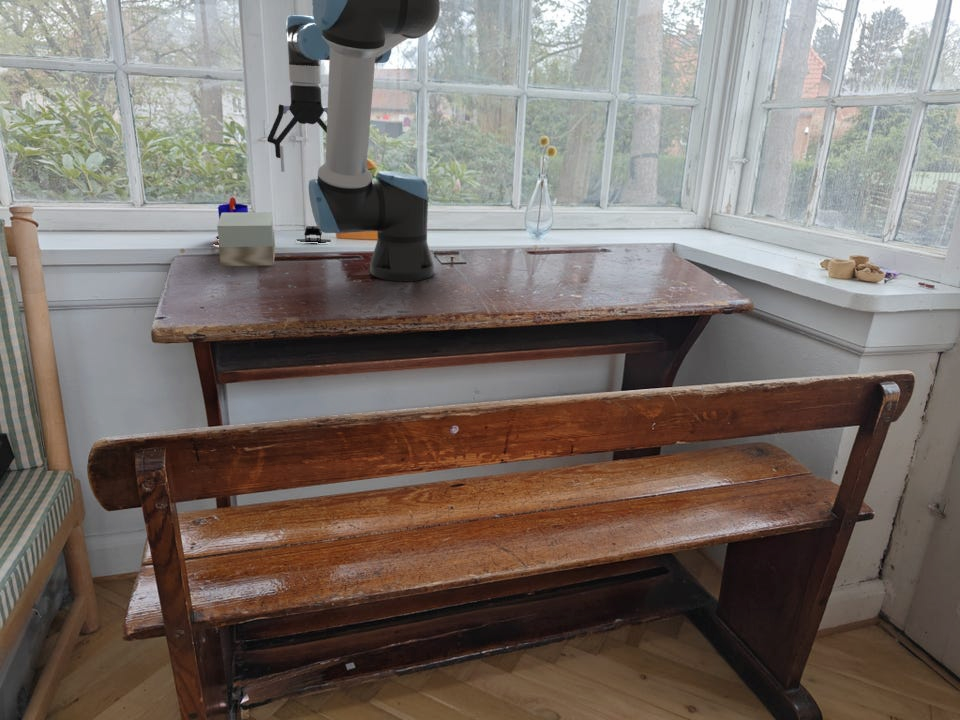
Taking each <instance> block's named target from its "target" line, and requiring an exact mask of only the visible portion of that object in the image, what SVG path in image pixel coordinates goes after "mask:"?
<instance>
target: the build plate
mask: <svg viewBox="0 0 960 720" xmlns="http://www.w3.org/2000/svg"><path fill="white" fill-rule="evenodd" d="M303 234H304V238H296V239H295V241H296V240H297V241H300V242H318V243H326V242H332V239H327V238H326V239H324V238H323V239H322V235H323V232H322V231H320V230H319V228H318V227H317V225H316V226H315V225H307V226H306V227H305V230H304V233H303ZM308 236H317V237H308ZM318 236H319V237H318Z"/></svg>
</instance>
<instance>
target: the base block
mask: <svg viewBox="0 0 960 720" xmlns="http://www.w3.org/2000/svg"><path fill="white" fill-rule="evenodd" d="M218 253H219V261H220V262H219V263H220V267H248V266H253V267H255V266H256V267H257V266H274V265H275V257H276V256H275V255H276V238H275V231H273V246H265V247H220V246H219V248H218Z"/></svg>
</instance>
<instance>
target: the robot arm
mask: <svg viewBox="0 0 960 720" xmlns="http://www.w3.org/2000/svg"><path fill="white" fill-rule="evenodd" d="M440 4H441V3H440V0H312V16H311V15H299V14H298V15H297V14H291V15H288V16H287V17H286V29H285V32H286V36H287V38H286V39H287V53H288V55H287V56H288V72H289V73H288V74H289V82H290V83H291V85H290V87H289V88H290V89H289V90H290V91H289V93H290V105H285V104H283V103H279V105H278V113H277V116H276V118H275V120H274V123H273V124H272V127H271V129H270V131H269V134H268V136H267V142H268V143H271V144H272V145H274V149H275V150H274V151H275V157H276V159H280V168H281V169H280V171H281V172H282V173H285V171H286V169H285V158H284V144H281V143H282V142H283V140H284V139H285V138H286V136H288V134H289V133H290V132H291V131H292V129H293V128H294V127H295V125H296V124H297V123H299V124H302V125H305V124H309V125H314V124H315V125H316V124H318V125H319V127H320V128H321V129H322V130H323V131H324V132H325V133H326V141H325V142H326V143H325V163H324V164H322V165H321V166H320V167H319V168H318V169H317V179H316V178H312V179H310V180H309V181H308V196H309V203H310V206H311V211H312V212H311V213H312V215H313V218H314V222H315V224H316V226H317V227H318V228H319V230H320V231H321V232H322V233H324V234H338V235H341V234H344V233H345V234H346V233H364V232H365V233H367V232H377V233H376V234H377V237H376V244H375V247H374V250H373V253H372V257H371V260H370V263H369V264H370V265H369V268H370V269H369V271H370V274H371V275H372V276H374V277H375V278H377V279H381V280H385V281H392V282H415V281H422V280H426V279H429V278H431V277H433V275H434V273H435V272H434V271H435V270H434V269H435V266H434V261H433V258H432V255H431V251H430V248H429V244H428V210H429V192H428V189H429V188H428V183H427V181H426V180H425V178H422V177H420V176H418V175H413V174H408V173H403V172H397V171H391V170H390V171H388V170H378V171H377V173H376V174H375V177H376V178H374V177H373V174H372V172H371V171H370V170H369V169H368V168H367V163H368V154H369V153H368V151H369V141H370V139H369V138H370V128H371V113H372V101H373V91H374V78H375V67H376V66H375V65H376V64H385V63H388V61H389V60H390V57H391V54H392V50H393V48H395V47H397V46H398V45H400V44H402V43H403V42H405V41H407V40H408V39H409V40H410V39H411V40H412V39H419V38H421V37H423V36H425V35H427V34H428V33H429V32H430V31H431V30H432V29H433V28H434V27H435V25H436V23H437V22H438V18H439V15H440V9H441V8H440V6H441V5H440ZM320 61H329V62H328V86H327V87H328V90H327V106H323V103H322V88H321V86H320V85H321V64H320ZM287 112H290V113H291V114H292V116H293V117H292V118H291V120H290V121H289V123H288V124H287V125H286V126H285V128H284V129H283V130H282V131H281V132H280V134H279V135H278V136H277V137H276V138H275V135H276V133H277V131H278V128H279V126H280V123H281V122H282V120H283V116H284V115H286V114H287ZM323 113H326V116H327V117H326V122H325V121H324V120H322V118H321V117H322V115H323Z"/></svg>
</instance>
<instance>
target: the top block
mask: <svg viewBox="0 0 960 720" xmlns="http://www.w3.org/2000/svg"><path fill="white" fill-rule="evenodd" d="M216 228H217V236H218V237H219V240H218V241H219V246H220V247H265V246H273V232H274V223H273V213H272V212H270V211H269V212H267V211H266V212H265V211H264V212H262V211H261V212H260V211H259V212H256V211H255V212H252V211H251V212H249V211H248V212H247V213H221V216H220V219H219V218H218V223H217V226H216Z"/></svg>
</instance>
